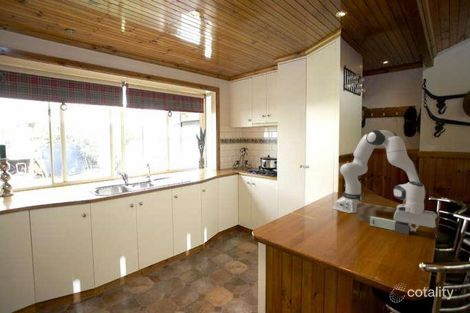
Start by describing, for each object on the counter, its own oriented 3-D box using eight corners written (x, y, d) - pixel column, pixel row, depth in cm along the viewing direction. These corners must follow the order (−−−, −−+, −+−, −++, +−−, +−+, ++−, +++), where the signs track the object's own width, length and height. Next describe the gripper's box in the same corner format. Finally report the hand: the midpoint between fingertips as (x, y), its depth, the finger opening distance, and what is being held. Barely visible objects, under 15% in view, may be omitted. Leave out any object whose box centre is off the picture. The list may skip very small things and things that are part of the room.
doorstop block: (394, 231, 149) (395, 223, 148) (395, 229, 152) (396, 221, 152) (408, 234, 144) (408, 226, 144) (409, 231, 148) (409, 224, 147)
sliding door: (369, 225, 158) (370, 217, 158) (370, 224, 161) (371, 216, 160) (394, 230, 149) (395, 222, 148) (395, 229, 152) (395, 220, 151)
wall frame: (356, 219, 170) (356, 202, 169) (357, 219, 171) (357, 202, 170) (411, 231, 149) (412, 211, 148) (412, 230, 151) (413, 211, 149)
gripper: (437, 210, 139) (435, 233, 140) (395, 204, 152) (394, 225, 153) (437, 213, 134) (435, 237, 135) (393, 206, 147) (392, 228, 149)
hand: (413, 230), depth 145 cm, fingers closed
